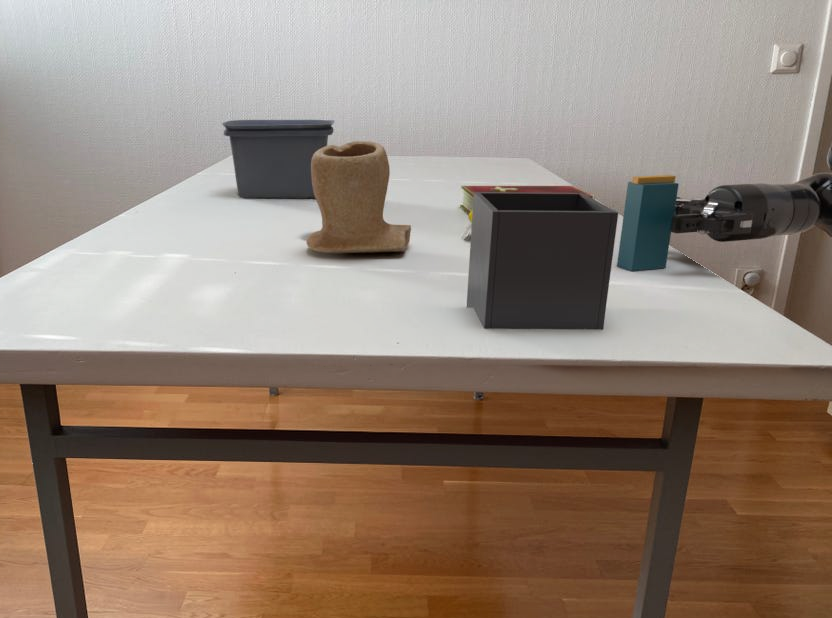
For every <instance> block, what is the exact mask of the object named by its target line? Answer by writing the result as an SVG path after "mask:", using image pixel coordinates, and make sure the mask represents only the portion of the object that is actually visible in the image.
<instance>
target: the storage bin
mask: <svg viewBox="0 0 832 618" xmlns="http://www.w3.org/2000/svg"><path fill="white" fill-rule="evenodd" d="M334 124H335V120H334V119H236V120H235V119H234V120H228V121H224V122H222V123H221V125H222V126H223V127H224V128H225V129H224V130H223V136H225V137H229V143H230V149H231V156H232V162H233V168H234V169H233V170H234V176H235V182H236V183H235V184H236V189H237V195H238V197H239V198H243V199H247V198H248V199H260V198H261V199H262V198H263V199H268V198H271V199H273V198H277V199H279V198H282V199H284V198H286V199H287V198H293V199H295V198H299V199H300V198H307V199H310V198H315V195H314V191H313V186H312V176H311V160H312V157H313V155H314V153H315V152H316V151H318V150H319V149H321V148H323V147H325V146H328V141H329V136H332V135H333V133H334V132H335V130H334V127H333V125H334Z"/></svg>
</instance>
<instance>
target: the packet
mask: <svg viewBox="0 0 832 618" xmlns="http://www.w3.org/2000/svg"><path fill="white" fill-rule="evenodd" d="M679 184H680V183H679V182H676V175H673V174H660V175H659V174H658V175H639V176H638V175H637V176H636V175H635V176H634V175H633V176H632V178H631V181H628V182H627V187H626V195H625V201H624V208H623V209H624V210H623V219H622V223H621V232H620V238H619V239H620V240H619V245H618V254H617V263H616V266H617V267H619V268H621V269H624V270H626V271H629V272H639V271H640V272H641V271H649V270H650V271H651V270H659V269H666V267H667V262H668V255H669V249H670V242H671V237H672V236H671V235H672V232H671V231H670V228H671V222H672V217H673V216H674V211H675V205H676V198H677V197H678V190H679Z"/></svg>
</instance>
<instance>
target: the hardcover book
mask: <svg viewBox="0 0 832 618" xmlns="http://www.w3.org/2000/svg"><path fill="white" fill-rule="evenodd" d="M460 188H461V189H462V190H463V191H462V192H463V193H462V204H459V208H460V209H462V210H463V211H464V212H465V213H466V215H468V216H469V213H470V211H471V210H473V199H474V192H519V193H583V194H585V195H587V196H589V197H591V198H593V199H594V200H596V196H595V195H594V194H592V193H591V192H588V191H585V190H583V189H581V188H579V187H576V186H574V185H461V186H460Z"/></svg>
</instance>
